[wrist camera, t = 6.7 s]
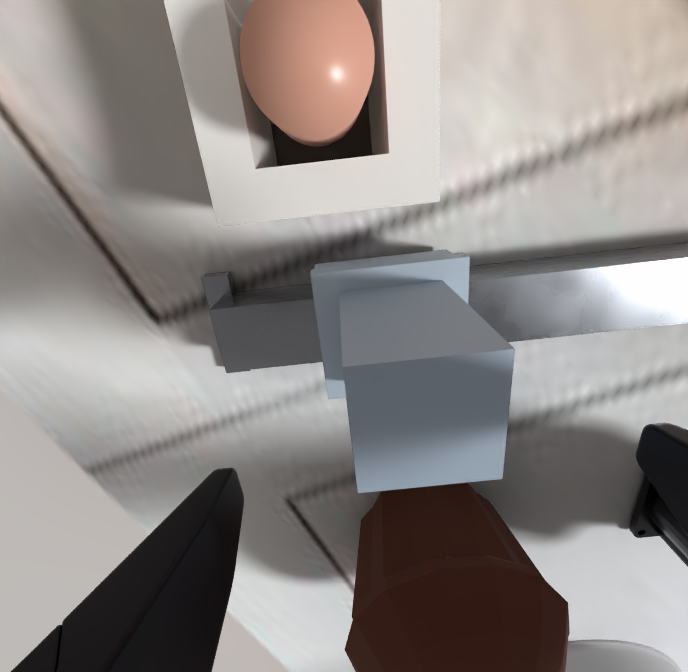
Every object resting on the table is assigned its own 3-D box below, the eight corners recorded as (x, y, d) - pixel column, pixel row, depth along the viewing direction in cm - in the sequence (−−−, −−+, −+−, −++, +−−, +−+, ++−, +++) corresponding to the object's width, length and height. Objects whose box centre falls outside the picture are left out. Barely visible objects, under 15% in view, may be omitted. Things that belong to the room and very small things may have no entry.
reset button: (366, 141, 12) (379, 127, 9) (275, 151, 12) (255, 142, 9) (358, 26, 11) (369, -39, 7) (257, 38, 11) (225, -21, 8)
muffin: (360, 448, 22) (379, 649, 12) (536, 467, 22) (674, 667, 13) (332, 576, 26) (331, 791, 17) (478, 587, 27) (552, 797, 18)
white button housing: (409, 194, 16) (439, 201, 11) (250, 212, 16) (217, 226, 11) (402, -19, 13) (440, -127, 8) (209, 5, 13) (143, -87, 8)
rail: (738, 313, 19) (792, 331, 16) (229, 367, 19) (216, 392, 17) (774, 211, 17) (842, 216, 14) (205, 274, 17) (186, 288, 15)
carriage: (445, 353, 19) (535, 496, 10) (329, 365, 19) (325, 517, 10) (446, 242, 16) (563, 311, 8) (314, 257, 16) (294, 340, 8)
